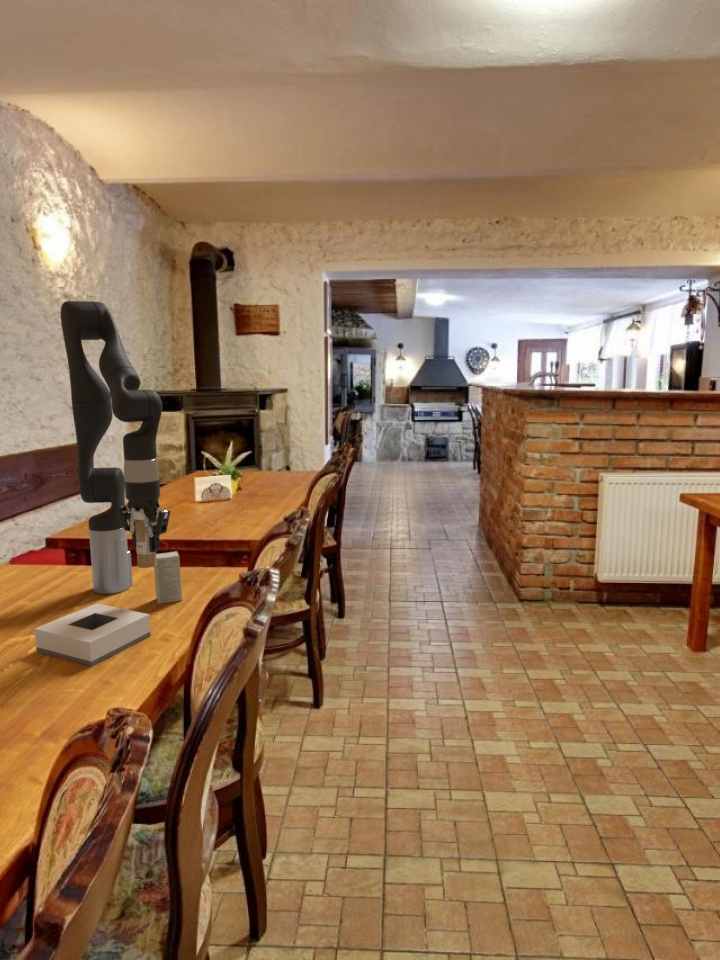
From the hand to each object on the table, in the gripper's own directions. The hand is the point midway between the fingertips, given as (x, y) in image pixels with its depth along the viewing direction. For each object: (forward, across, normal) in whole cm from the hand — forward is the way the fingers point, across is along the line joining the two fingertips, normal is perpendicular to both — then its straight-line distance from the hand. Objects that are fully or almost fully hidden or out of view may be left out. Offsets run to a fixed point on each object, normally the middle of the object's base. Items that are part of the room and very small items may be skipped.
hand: (146, 549), depth 141 cm
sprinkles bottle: (+4, 0, 0) cm, 4 cm away
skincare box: (+17, +5, -12) cm, 21 cm away
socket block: (+17, +1, +16) cm, 23 cm away
